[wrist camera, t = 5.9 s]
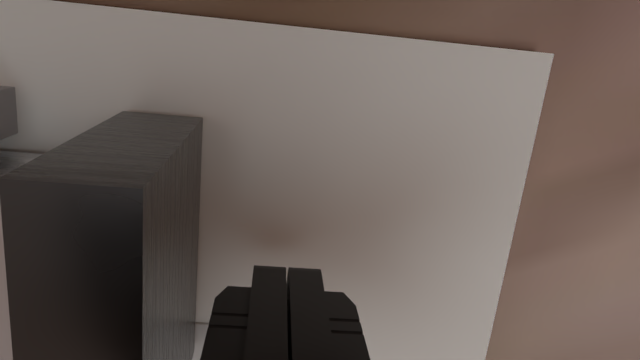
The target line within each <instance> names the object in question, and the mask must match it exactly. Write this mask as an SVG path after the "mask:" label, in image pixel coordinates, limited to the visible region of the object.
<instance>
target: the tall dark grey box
mask: <svg viewBox="0 0 640 360" xmlns="http://www.w3.org/2000/svg"><path fill="white" fill-rule="evenodd" d="M202 129H203V118H200V117H188V116H177V115H165V114H153V113H142V112H130V111H122V112H120V113H118V114H117V115H115V116H113V117H111V118H109V119H107V120H105V121H104V122H102V123H100V124H98V125H96V126H94V127H92V128H91V129H89V130H87V131H85V132H83V133H81V134H79V135H78V136H76V137H74V138H72V139H70V140H68V141H66V142H65V143H63V144H61V145H59V146H57V147H55V148H53V149H52V150H50V151H48V152H46V153H44V154H38V153H25V152H12V151H0V360H192V357H193V354H194V347H195V320H196V293H197V266H198V238H199V211H200V184H201V157H202Z"/></svg>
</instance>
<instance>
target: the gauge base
mask: <svg viewBox="0 0 640 360" xmlns="http://www.w3.org/2000/svg"><path fill="white" fill-rule="evenodd" d="M553 56H554V54H551V53H542V52H532V51H523V50H513V49H504V48H495V47H485V46H476V45H466V44H457V43H448V42H438V41H429V40H419V39H410V38H400V37H391V36H382V35H372V34H363V33H353V32H344V31H335V30H325V29H316V28H306V27H297V26H288V25H278V24H269V23H259V22H250V21H241V20H231V19H222V18H212V17H203V16H194V15H184V14H175V13H165V12H156V11H146V10H137V9H128V8H118V7H109V6H99V5H90V4H81V3H71V2H62V1H52V0H0V151H12V152H25V153H38V154H44V153H46V152H48V151H50V150H52V149H53V148H55V147H57V146H59V145H61V144H63V143H65V142H66V141H68V140H70V139H72V138H74V137H76V136H78V135H79V134H81V133H83V132H85V131H87V130H89V129H91V128H92V127H94V126H96V125H98V124H100V123H102V122H104V121H105V120H107V119H109V118H111V117H113V116H115V115H117V114H118V113H120V112H122V111H130V112H142V113H153V114H165V115H177V116H188V117H200V118H203V129H202V157H201V184H200V211H199V238H198V266H197V293H196V320H195V347H194V354H193V357H192V360H200V358H201V354H202V350H203V345H204V341H205V337H206V333H207V329H208V326H209V321H210V316H211V313H212V308H213V304H214V300H215V297H216V296H217V295H219V294H220V293H221V292H222V291H223V290H224V289H225V288H226V287H227V286H238V287H251V286H252V277H253V268H254V265H258V266H275V267H286V284H287V274H288V268H289V267H293V268H310V269H321V273H322V279H323V285H324V291H330V292H343V293H344V294H345V295H346V296H347V297H348V298H349V299H350V300H351V301H352V302H353V303H354V304H355V305H356V308H357V312H358V315H359V319H360V321H359V322H360V323H361V327H362V330H363V335H364V338H365V342H366V345H367V349H368V353H369V356H370V360H485V358H486V353H487V349H488V344H489V340H490V336H491V331H492V327H493V322H494V318H495V313H496V309H497V305H498V300H499V296H500V291H501V287H502V282H503V278H504V273H505V269H506V265H507V260H508V256H509V251H510V247H511V242H512V238H513V234H514V229H515V225H516V220H517V216H518V211H519V207H520V202H521V198H522V194H523V189H524V185H525V180H526V176H527V171H528V167H529V163H530V158H531V154H532V149H533V145H534V140H535V136H536V131H537V127H538V123H539V118H540V114H541V109H542V105H543V100H544V96H545V92H546V87H547V83H548V78H549V74H550V69H551V65H552V61H553Z"/></svg>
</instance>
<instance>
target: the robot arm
mask: <svg viewBox="0 0 640 360" xmlns="http://www.w3.org/2000/svg"><path fill="white" fill-rule="evenodd" d="M359 321H360V319H359V315H358V312H357V308H356V305H355V304H354V303H353V302H352V301H351V300H350V299H349V298H348V297H347V296H346V295H345V294H344V293H343V292H330V291H324V285H323V279H322V273H321V269H310V268H293V267H289V268H288V274H287V284H286V267H275V266H258V265H254V268H253V277H252V286H251V287H238V286H227V287H226V288H225V289H224V290H223V291H222V292H221V293H220V294H219V295H217V296H216V297H215V300H214V304H213V308H212V313H211V316H210V321H209V326H208V329H207V333H206V337H205V341H204V345H203V350H202V354H201V358H200V360H370V356H369V353H368V349H367V345H366V342H365V338H364V335H363V330H362V327H361V323H360V322H359Z"/></svg>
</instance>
